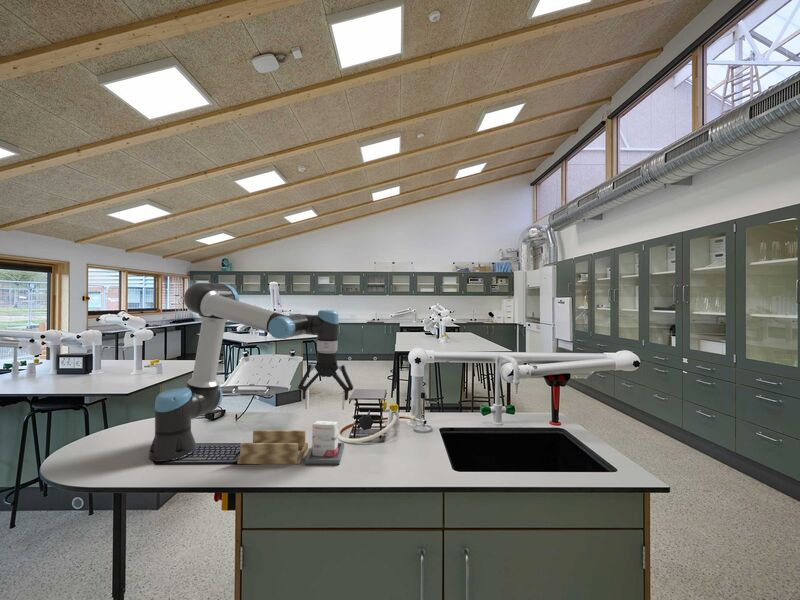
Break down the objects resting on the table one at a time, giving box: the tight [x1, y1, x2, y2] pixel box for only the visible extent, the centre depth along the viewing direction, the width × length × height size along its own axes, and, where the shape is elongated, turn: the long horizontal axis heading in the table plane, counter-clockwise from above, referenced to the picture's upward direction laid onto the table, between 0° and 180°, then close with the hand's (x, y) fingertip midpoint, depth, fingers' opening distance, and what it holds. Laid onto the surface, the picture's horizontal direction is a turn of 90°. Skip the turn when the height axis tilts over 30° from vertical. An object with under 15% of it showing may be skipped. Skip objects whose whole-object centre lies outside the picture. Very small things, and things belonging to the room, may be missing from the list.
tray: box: [304, 442, 345, 466], centre depth 144 cm, size 12×16×2 cm
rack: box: [236, 429, 309, 465], centre depth 144 cm, size 22×14×7 cm, turn 92°
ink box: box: [311, 420, 339, 457], centre depth 144 cm, size 9×5×12 cm, turn 82°
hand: (325, 408), depth 144 cm, fingers open, 13 cm apart
